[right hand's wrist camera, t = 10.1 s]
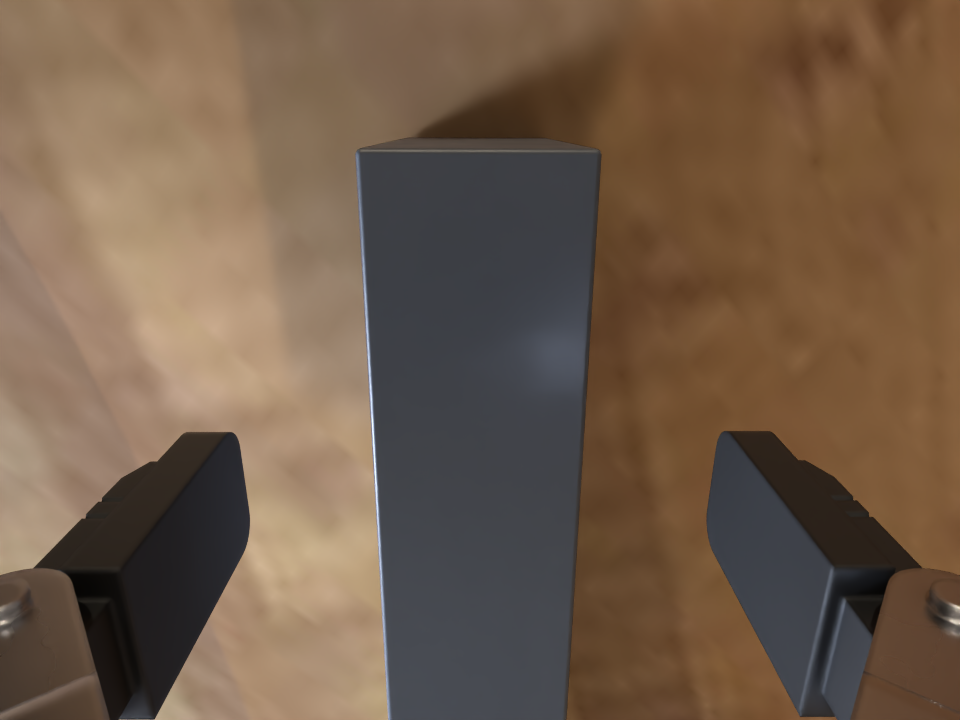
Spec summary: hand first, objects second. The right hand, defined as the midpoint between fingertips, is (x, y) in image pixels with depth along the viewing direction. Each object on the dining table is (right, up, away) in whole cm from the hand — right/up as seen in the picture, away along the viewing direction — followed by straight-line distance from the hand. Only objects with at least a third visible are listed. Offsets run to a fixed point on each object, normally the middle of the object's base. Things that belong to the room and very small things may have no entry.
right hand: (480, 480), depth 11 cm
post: (0, -29, +22) cm, 36 cm away
